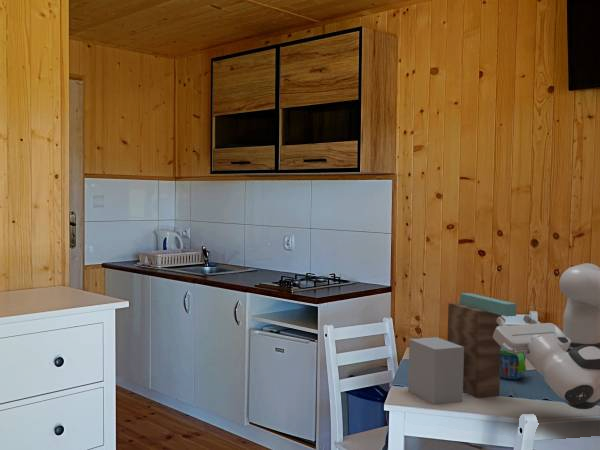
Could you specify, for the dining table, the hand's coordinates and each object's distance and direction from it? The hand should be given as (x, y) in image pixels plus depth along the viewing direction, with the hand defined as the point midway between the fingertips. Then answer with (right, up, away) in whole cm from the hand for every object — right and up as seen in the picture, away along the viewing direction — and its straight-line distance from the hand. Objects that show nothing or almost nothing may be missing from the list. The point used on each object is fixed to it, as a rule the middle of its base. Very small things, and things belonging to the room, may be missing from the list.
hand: (512, 317), depth 180 cm
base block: (-20, -25, +11) cm, 34 cm away
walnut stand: (-7, -25, +18) cm, 32 cm away
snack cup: (+10, -25, +33) cm, 42 cm away
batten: (-4, +1, +11) cm, 12 cm away
